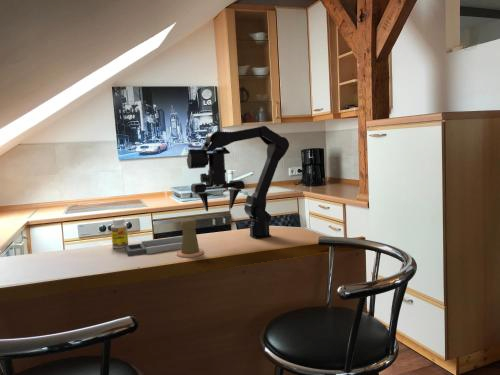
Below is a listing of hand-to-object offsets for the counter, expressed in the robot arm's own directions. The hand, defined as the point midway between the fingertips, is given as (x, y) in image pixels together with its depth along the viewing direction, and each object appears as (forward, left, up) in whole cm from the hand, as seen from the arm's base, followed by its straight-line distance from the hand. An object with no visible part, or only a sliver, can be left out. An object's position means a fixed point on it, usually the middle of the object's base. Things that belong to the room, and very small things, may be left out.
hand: (219, 209), depth 151 cm
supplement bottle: (+34, -14, -12) cm, 39 cm away
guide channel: (+19, -4, -12) cm, 23 cm away
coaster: (+14, +9, -12) cm, 21 cm away
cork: (+14, +9, -12) cm, 20 cm away
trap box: (+30, -4, -12) cm, 33 cm away
